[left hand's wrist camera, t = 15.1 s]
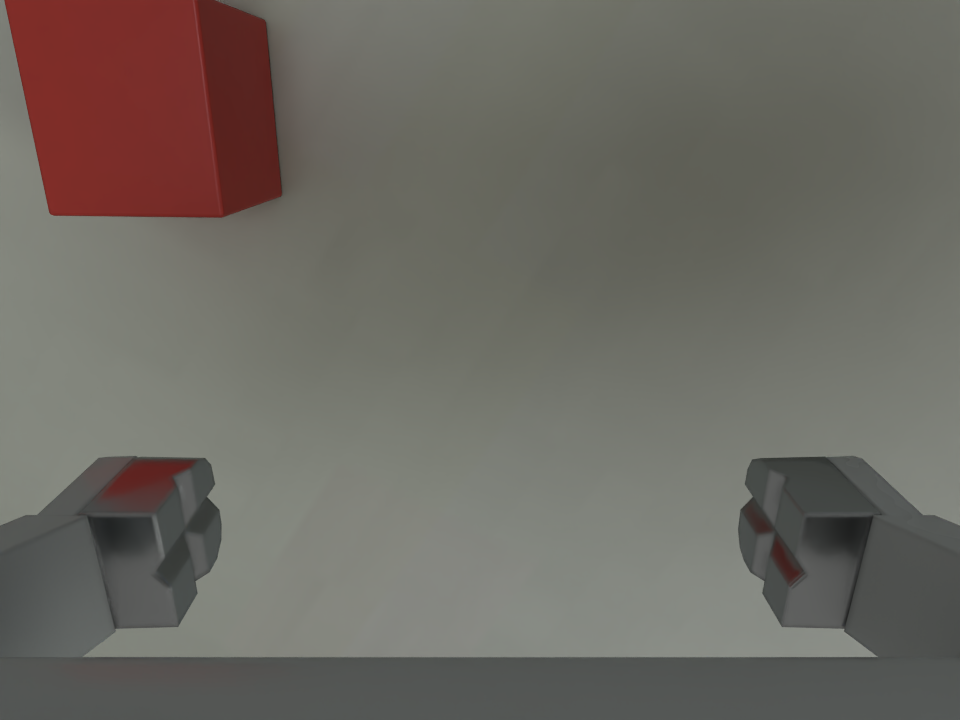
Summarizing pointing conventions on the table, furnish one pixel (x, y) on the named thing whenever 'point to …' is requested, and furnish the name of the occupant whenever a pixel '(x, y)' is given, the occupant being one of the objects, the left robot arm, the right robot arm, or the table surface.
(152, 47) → the block
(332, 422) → the table surface
